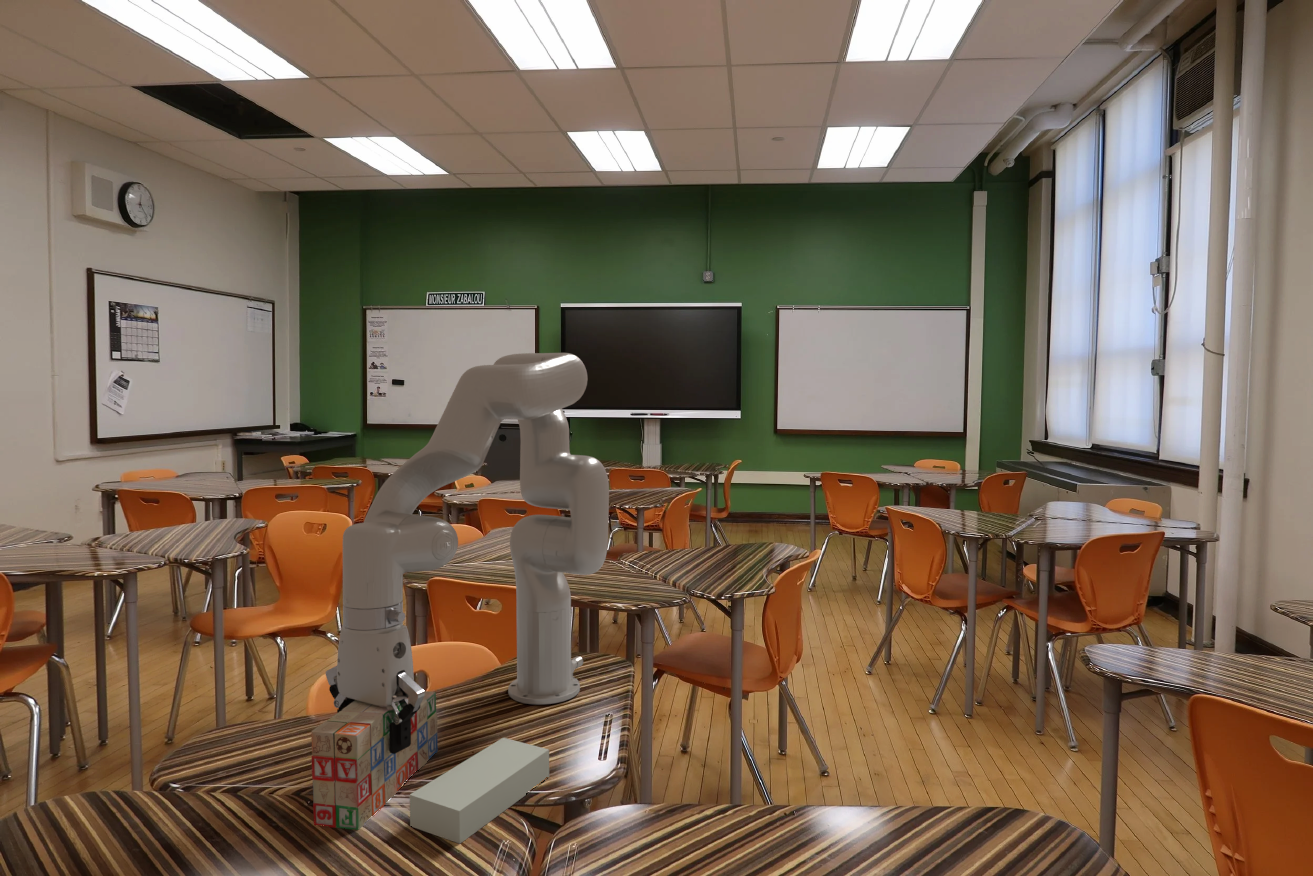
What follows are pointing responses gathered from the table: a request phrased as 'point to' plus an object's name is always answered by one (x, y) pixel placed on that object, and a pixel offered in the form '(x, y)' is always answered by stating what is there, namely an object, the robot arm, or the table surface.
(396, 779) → the stack of blocks
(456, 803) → the base block
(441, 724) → the table surface
